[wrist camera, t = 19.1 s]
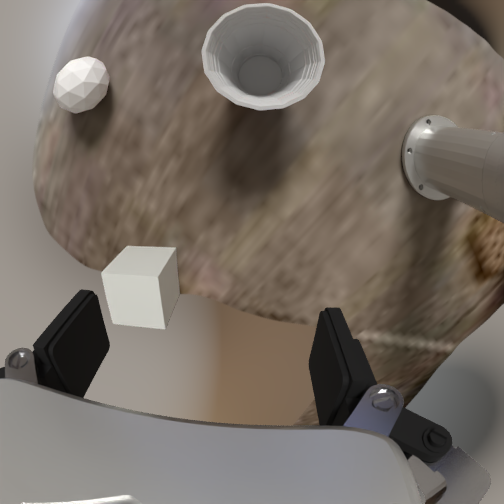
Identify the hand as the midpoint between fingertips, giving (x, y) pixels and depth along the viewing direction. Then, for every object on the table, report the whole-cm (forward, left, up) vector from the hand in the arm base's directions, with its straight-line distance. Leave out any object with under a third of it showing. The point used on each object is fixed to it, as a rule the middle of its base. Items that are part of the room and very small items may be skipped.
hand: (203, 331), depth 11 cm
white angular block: (+12, +13, -28) cm, 33 cm away
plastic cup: (-2, -15, -28) cm, 32 cm away
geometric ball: (+21, -15, -28) cm, 38 cm away
